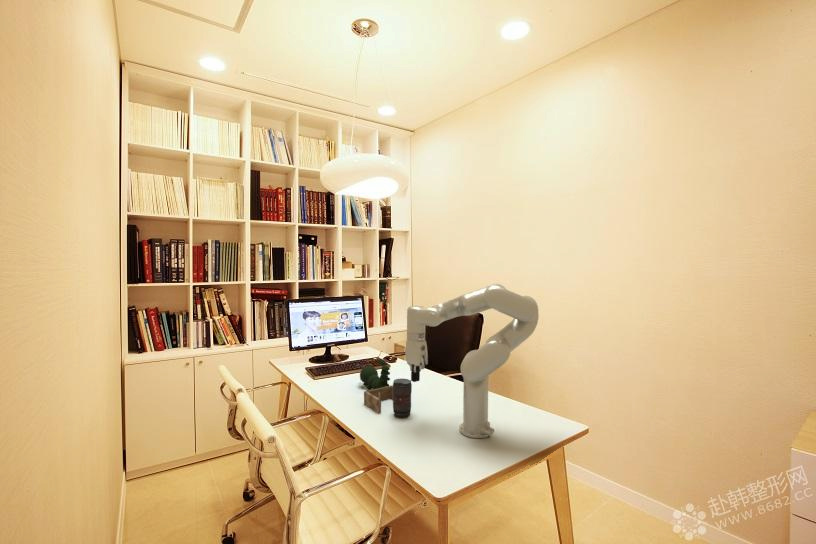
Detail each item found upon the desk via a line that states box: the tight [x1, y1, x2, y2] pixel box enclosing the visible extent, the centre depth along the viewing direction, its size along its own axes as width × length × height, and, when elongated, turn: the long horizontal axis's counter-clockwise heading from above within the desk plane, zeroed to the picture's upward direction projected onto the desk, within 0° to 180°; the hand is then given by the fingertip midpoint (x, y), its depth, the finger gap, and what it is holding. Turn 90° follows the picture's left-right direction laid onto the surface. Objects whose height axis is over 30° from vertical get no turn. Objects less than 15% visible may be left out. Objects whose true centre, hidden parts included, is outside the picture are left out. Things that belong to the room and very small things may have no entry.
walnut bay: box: [363, 384, 393, 415], centre depth 172 cm, size 13×15×9 cm
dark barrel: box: [392, 378, 413, 419], centre depth 161 cm, size 8×8×15 cm
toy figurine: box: [359, 358, 391, 391], centre depth 193 cm, size 9×19×25 cm
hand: (415, 380), depth 153 cm, fingers closed
